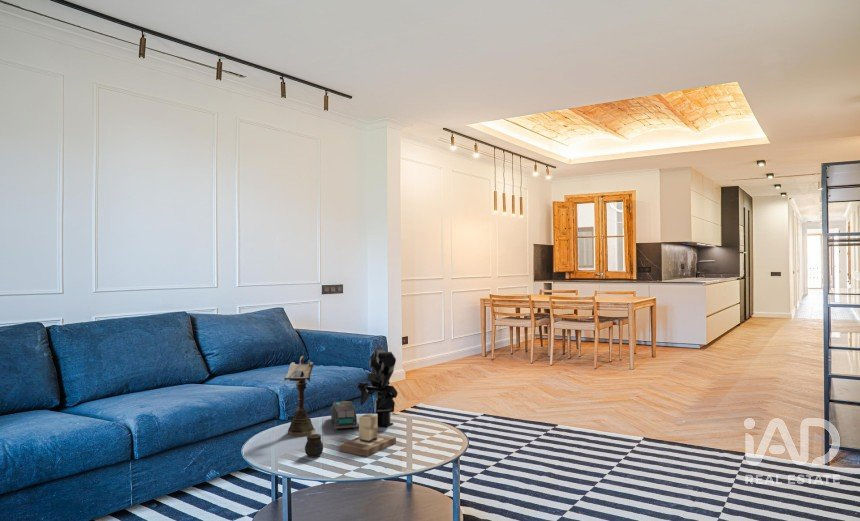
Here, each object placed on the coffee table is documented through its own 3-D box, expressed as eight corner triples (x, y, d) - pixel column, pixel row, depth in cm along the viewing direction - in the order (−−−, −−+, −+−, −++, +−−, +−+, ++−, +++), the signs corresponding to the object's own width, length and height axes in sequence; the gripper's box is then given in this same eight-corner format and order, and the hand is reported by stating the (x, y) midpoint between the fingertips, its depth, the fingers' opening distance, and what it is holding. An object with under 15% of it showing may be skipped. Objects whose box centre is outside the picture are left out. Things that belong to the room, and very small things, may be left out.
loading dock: (369, 438, 256) (369, 432, 256) (396, 443, 249) (396, 436, 249) (339, 450, 239) (339, 444, 239) (367, 456, 231) (367, 449, 232)
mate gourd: (321, 458, 229) (321, 433, 229) (302, 458, 229) (302, 433, 229) (324, 452, 236) (324, 428, 236) (306, 452, 236) (306, 428, 236)
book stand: (310, 440, 254) (309, 358, 254) (280, 439, 255) (280, 358, 255) (321, 429, 270) (321, 353, 271) (293, 429, 271) (293, 353, 272)
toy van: (351, 417, 293) (351, 397, 293) (357, 430, 269) (357, 408, 269) (330, 418, 291) (330, 398, 291) (334, 432, 267) (334, 409, 267)
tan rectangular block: (367, 437, 248) (367, 413, 248) (377, 439, 245) (377, 415, 245) (359, 441, 242) (359, 416, 242) (369, 443, 240) (368, 418, 240)
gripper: (359, 364, 267) (344, 393, 258) (393, 367, 258) (379, 397, 248) (370, 378, 274) (355, 407, 264) (403, 382, 265) (389, 412, 255)
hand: (369, 406), depth 258 cm, fingers open, 9 cm apart
